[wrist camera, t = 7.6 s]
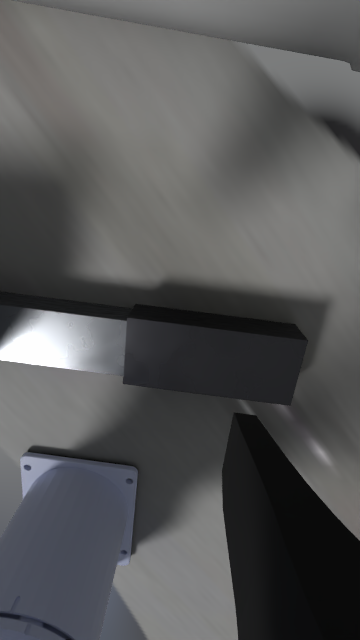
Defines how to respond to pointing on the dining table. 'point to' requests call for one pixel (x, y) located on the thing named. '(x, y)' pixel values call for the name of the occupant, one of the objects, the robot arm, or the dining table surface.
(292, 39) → the tube
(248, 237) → the dining table surface
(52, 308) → the bar
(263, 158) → the dining table surface
